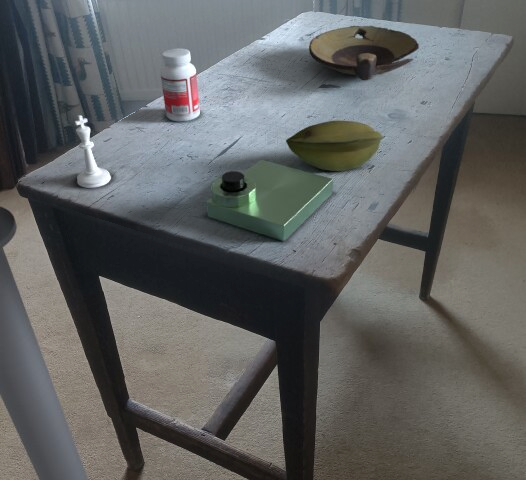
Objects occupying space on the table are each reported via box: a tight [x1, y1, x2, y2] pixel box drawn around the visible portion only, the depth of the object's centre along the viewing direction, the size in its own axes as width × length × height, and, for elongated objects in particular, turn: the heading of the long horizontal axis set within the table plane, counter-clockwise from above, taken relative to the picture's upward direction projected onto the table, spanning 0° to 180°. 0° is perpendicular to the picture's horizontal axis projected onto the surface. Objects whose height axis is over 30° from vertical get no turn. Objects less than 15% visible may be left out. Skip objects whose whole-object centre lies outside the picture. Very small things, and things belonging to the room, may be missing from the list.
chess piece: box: [74, 114, 112, 189], centre depth 85 cm, size 5×5×10 cm
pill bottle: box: [160, 47, 201, 122], centre depth 103 cm, size 6×6×11 cm
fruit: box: [285, 120, 384, 172], centre depth 89 cm, size 11×12×7 cm
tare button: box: [221, 170, 245, 192], centre depth 78 cm, size 3×3×2 cm
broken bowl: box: [308, 25, 420, 82], centre depth 120 cm, size 22×30×8 cm
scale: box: [206, 159, 334, 242], centre depth 81 cm, size 14×12×4 cm
